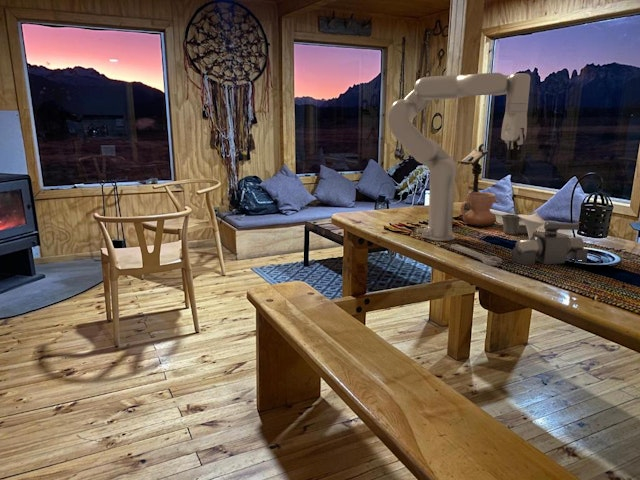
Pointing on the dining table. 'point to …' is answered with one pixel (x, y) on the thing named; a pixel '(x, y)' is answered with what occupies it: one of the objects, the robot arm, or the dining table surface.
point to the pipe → (513, 225)
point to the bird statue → (474, 168)
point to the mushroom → (532, 222)
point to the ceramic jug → (479, 209)
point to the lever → (561, 226)
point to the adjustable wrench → (478, 255)
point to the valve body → (549, 248)
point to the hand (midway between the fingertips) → (512, 159)
